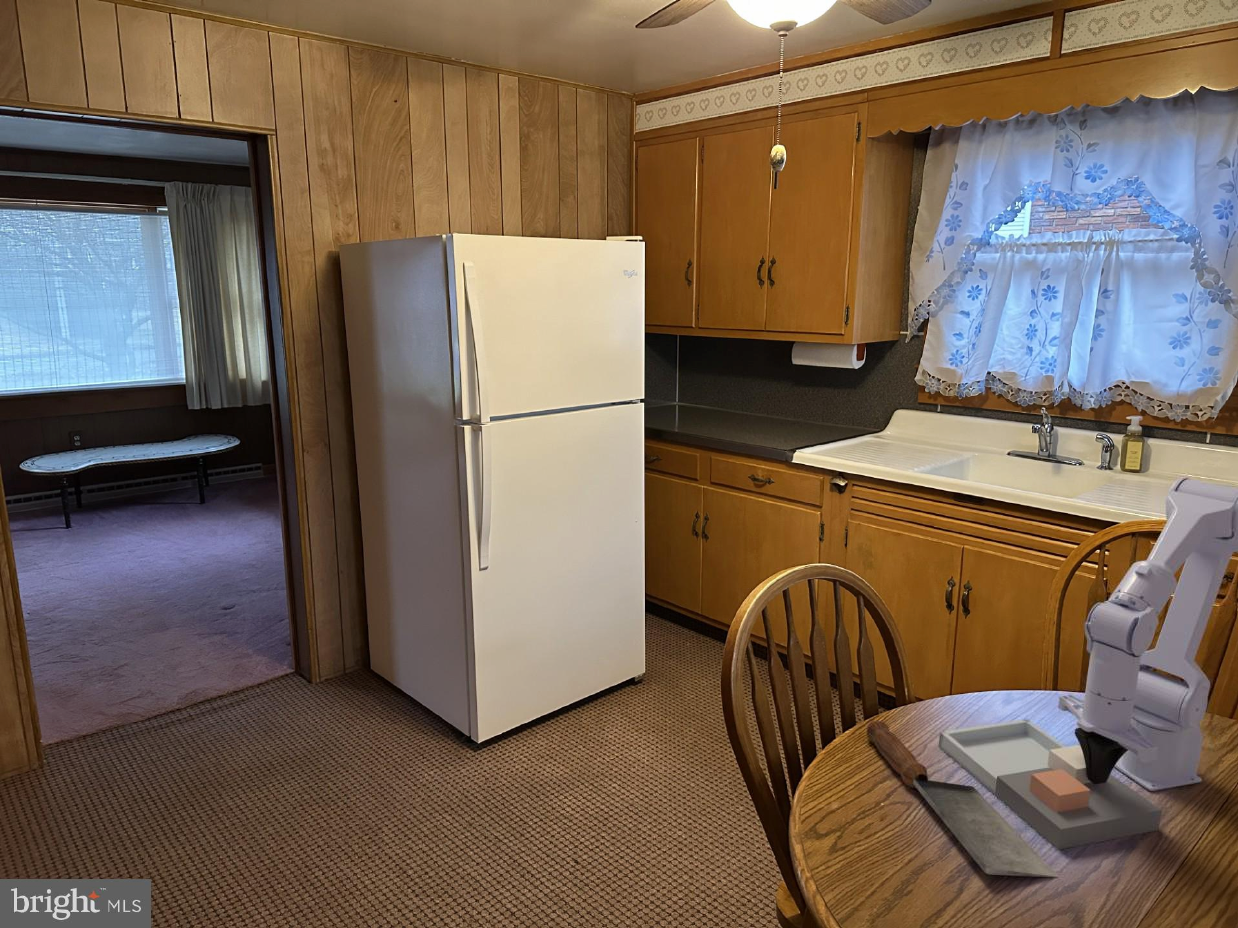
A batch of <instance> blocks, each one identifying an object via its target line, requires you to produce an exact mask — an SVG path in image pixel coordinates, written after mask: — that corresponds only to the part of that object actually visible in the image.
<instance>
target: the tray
mask: <svg viewBox="0 0 1238 928" xmlns="http://www.w3.org/2000/svg"><path fill="white" fill-rule="evenodd" d="M938 747H939V748H940V749H941V750H942V752H945V753H946V754H947V755H948V756H949V757H950V758H951V759H952V760H954V761H955V762H956V763H957V764H958V765H960V766H961V767H962V768H963V769H964V770H965V771H966V772H968V773H969V774H970V775H971V776H972V777H973V778H975V779H976V780H977V781H978V782H979V783H980V784H981V785H982V786H984V787H985V788H986V789H987V790H988V791H990V793H992V795H994V796H995V790H996V781H997V776H1001V775H1007V774H1013V773H1019V772H1025V771H1031V770H1037V769H1043V768H1049V766H1047V765H1048V757H1049V750H1052V749H1058V748H1063V747H1067V746H1066V745H1064V743H1061V742H1060V741H1059V740H1057V739H1056V738H1054V737H1053V736H1052V735H1051V734H1049V733H1048V732H1047V731H1045V730H1043V729H1042V728H1040V727H1039V726H1038V725H1036V724H1035V723H1034V722H1032V721H1030V720H1029V719H1027V718H1024V719H1018V720H1017V719H1016V720H1010V721H1005V722H1004V721H1003V722H997V723H991V724H985V725H978V726H977V725H976V726H971V727H963V728H957V729H950V730H943V731H939V738H938Z"/></svg>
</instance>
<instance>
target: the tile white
mask: <svg viewBox="0 0 1238 928" xmlns="http://www.w3.org/2000/svg"><path fill="white" fill-rule="evenodd" d="M1047 766H1049V767H1050V768H1051V769H1053V770H1059V769H1063V770H1064V771H1065V772H1067V773H1068V774H1069V775H1071V776H1072V777H1074V778H1075V779H1076V780H1078V781H1079V782H1080V783H1082V784H1084V783H1090V782H1091V781H1089V780H1088V778H1087V772H1086V765H1085V760H1084V755H1083V752H1082V749H1081V746H1080V744H1079V745H1078V744H1074V745H1071V746H1066V747H1063V748H1058V749H1052V750H1049V757H1048V765H1047Z"/></svg>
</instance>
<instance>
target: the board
mask: <svg viewBox="0 0 1238 928" xmlns="http://www.w3.org/2000/svg"><path fill="white" fill-rule="evenodd" d="M1047 771H1053V769H1051V768H1050V767H1049V768H1043V769H1037V770H1031V771H1025V772H1019V773H1013V774H1007V775H1001V776H997V781H996V790H995V795H994V796H995V797H996V798H998V799H999V800H1000V801H1001V802H1002V803H1004V805H1006V806H1007V807H1008V808H1009V809H1010V810H1011V811H1013V813H1015V814H1016V815H1017V816H1018V817H1020V818H1021V819H1022V820H1023V821H1024V822H1026V823H1027V824H1028V825H1029V826H1030V827H1031V828H1032V829H1034V830H1035V831H1036V832H1037V833H1038V834H1040V835H1041V836H1042V837H1043V838H1044V839H1045V840H1046V841H1047V842H1049V843H1050V844H1051V845H1052V846H1053V847H1054V848H1055V849H1057V850H1063V849H1065V850H1066V849H1070V848H1073V847H1074V848H1075V847H1079V846H1084V845H1089V844H1094V843H1100V842H1105V841H1109V840H1115V839H1120V838H1125V837H1129V836H1135V835H1141V834H1145V833H1151V832H1156V831H1159V830H1160V825H1161V817H1162V812H1163V811H1162V809H1161V808H1160V807H1158V806H1157V805H1155V804H1154V803H1153V802H1151V801H1149V800H1148V799H1146V798H1145V797H1144V796H1142V795H1141V794H1140V793H1138V792H1137V791H1136V790H1134V789H1133V788H1131V787H1129V786H1128V785H1127V784H1126V783H1124V782H1122V781H1121V780H1120V779H1118V778H1117V777H1115V776H1114V775H1112V774H1111V773H1110V775H1109V778H1108V780H1107V782H1106V783H1101V784H1093V783H1092V782H1090V783H1084V784H1083V785H1084V786H1086V787H1087V788H1088V789H1090V797H1089V804H1088V807H1084V808H1079V809H1073V810H1068V811H1062V812H1055V811H1054V810H1053V809H1052V808H1050V807H1049V806H1048V805H1047V804H1045V803H1044V802H1043V801H1042V800H1041V799H1039V798H1038V797H1037V796H1036V795H1034V794H1033V793H1032V792H1031V791H1029V790H1030V782H1031V774H1035V773H1041V772H1047Z"/></svg>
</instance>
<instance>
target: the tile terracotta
mask: <svg viewBox="0 0 1238 928" xmlns="http://www.w3.org/2000/svg"><path fill="white" fill-rule="evenodd" d="M1029 791H1031V792H1032V793H1033V794H1034V795H1036V796H1037V797H1038V798H1039V799H1041V800H1042V801H1043V802H1044V803H1045V804H1047V805H1048V806H1049V807H1050V808H1052V809H1053V810H1054V811H1055V812H1062V811H1068V810H1073V809H1079V808H1084V807H1088V804H1089V797H1090V789H1088V788H1087V787H1086V786H1084V785H1083V784H1082V783H1080V782H1079V781H1078V780H1076V779H1075V778H1074V777H1072V776H1071V775H1069V774H1068V773H1067V772H1065V771H1064V770H1063V769H1059V770H1053V771H1047V772H1041V773H1035V774H1031V782H1030V790H1029Z"/></svg>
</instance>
